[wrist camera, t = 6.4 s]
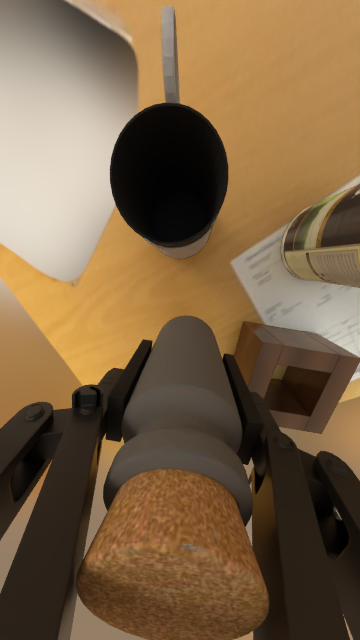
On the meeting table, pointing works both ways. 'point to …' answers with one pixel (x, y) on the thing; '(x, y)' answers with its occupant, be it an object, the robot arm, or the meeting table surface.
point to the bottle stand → (295, 373)
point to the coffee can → (326, 241)
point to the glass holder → (170, 166)
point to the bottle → (177, 504)
